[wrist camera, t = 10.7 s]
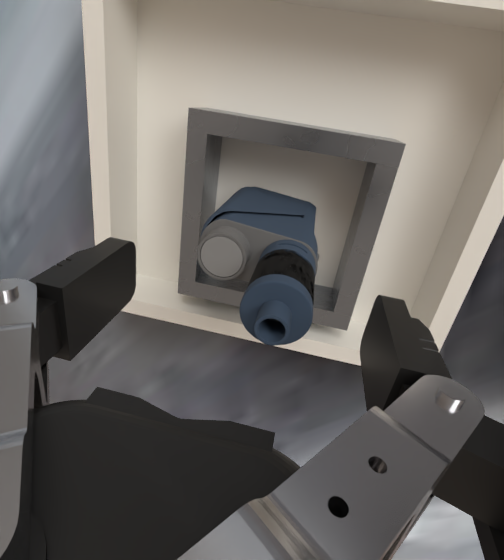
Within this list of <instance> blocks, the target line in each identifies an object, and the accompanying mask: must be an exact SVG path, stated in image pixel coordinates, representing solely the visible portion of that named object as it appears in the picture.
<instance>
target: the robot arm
mask: <svg viewBox="0 0 504 560" xmlns="http://www.w3.org/2000/svg"><path fill="white" fill-rule="evenodd" d="M135 288H136V247H135V244H134V243H133V242H132V241H127V240H122V239H118V238H113V237H109V238H107V239H106V240H104V241H102V242H101V243H99V244H98V245H96V246H94V247H93V248H89V249H86V250H82V251H79V252H76V253H74V254H73V255H71V256H69V257H68V258H66V260H63V261H61V262H59V263H58V264H57V265H56V266H55V265H54V266H53V267H51V268H49V269H47V270H46V271H44V272H42V273H41V274H39V275H37V276H36V277H34V278H32V279H31V280H29V281H28V280H24V279H1V280H0V560H391V559H392V557H393V556H394V554H395V553H396V551H397V550H398V548H399V547H400V545H401V544H402V543H403V541H404V540H405V538H406V537H407V535H408V534H409V532H410V531H411V529H412V528H413V527H414V525H415V524H416V522H417V521H418V519H419V518H420V516H421V515H422V513H423V512H424V511H425V509H426V508H427V506H428V505H429V503H430V502H431V500H432V499H433V497H434V496H436V497H438V498H440V499H442V500H444V501H446V502H447V503H449V504H451V505H453V506H455V507H456V508H458V509H460V510H462V511H464V512H465V513H467V514H469V515H471V516H472V517H473V521H474V524H475V527H476V531H477V534H478V538H479V541H480V545H481V548H482V551H483V555H484V558H485V560H504V424H502V423H499V422H497V421H495V420H493V419H491V418H489V417H487V416H485V415H484V407H483V405H482V403H481V401H480V400H479V399H478V397H477V396H476V395H475V394H474V393H473V392H472V391H470V390H469V389H468V388H466V387H465V386H463V385H462V384H460V383H458V382H456V381H454V380H452V378H451V376H450V374H449V372H448V370H447V367H446V365H445V363H444V361H443V358H442V356H441V354H440V353H439V350H438V347H437V345H436V343H434V342H435V341H434V338H433V336H432V334H431V332H430V330H429V329H428V328H427V327H426V326H425V325H424V324H423V323H422V322H421V321H420V320H419V319H417V318H412V317H411V316H410V314H409V311H408V309H407V306H406V304H405V301H404V300H402V299H397V298H393V297H388V296H383V295H378V296H377V297H376V299H375V302H374V304H373V307H372V310H371V313H370V316H369V319H368V322H367V324H366V327H365V330H364V333H363V336H362V340H361V345H360V360H361V368H362V376H363V384H364V391H365V399H366V407H367V412H366V413H365V414H364V415H362V416H361V417H360V418H359V419H358V420H357V421H355V422H354V423H353V424H352V425H351V426H349V427H348V428H347V429H346V430H345V431H344V432H342V433H341V434H340V435H339V436H338V437H336V438H335V439H334V440H333V441H332V442H331V443H329V444H328V445H327V446H326V447H325V448H323V449H322V450H321V451H320V452H319V453H318V454H316V455H315V456H314V457H313V458H312V459H310V460H309V461H308V462H307V463H306V464H305V465H303V466H302V467H300V466H298V465H297V464H296V463H295V462H294V461H292V460H291V459H290V458H288V457H287V456H285V455H284V454H282V453H281V452H279V451H277V450H276V449H274V448H273V442H274V435H275V433H274V432H270V431H266V430H262V429H258V428H255V427H251V426H247V425H243V424H239V423H235V422H231V421H216V420H192V419H180V418H177V417H175V416H173V415H171V414H169V413H167V412H165V411H163V410H161V409H159V408H158V407H156V406H154V405H152V404H150V403H148V402H146V401H144V400H143V399H141V398H138V397H135V396H131V395H127V394H123V393H119V392H115V391H111V390H107V389H104V388H100V387H97V388H96V389H95V390H94V392H93V393H92V394H91V395H90V396H89V398H88V399H87V400H70V401H63V402H57V403H53V404H50V396H49V367H48V360H49V359H50V358H52V357H57V358H61V359H65V360H69V361H71V360H72V359H73V358H74V357H75V356H76V355H77V354H78V353H79V352H80V351H81V350H82V349H83V348H84V347H85V346H86V345H87V344H88V343H89V342H90V341H91V340H92V339H93V338H94V337H95V336H96V335H97V334H98V333H99V332H100V331H101V330H102V329H103V328H104V327H105V326H106V325H107V324H108V323H109V322H110V321H111V320H112V319H113V318H114V317H115V316H116V315H117V314H118V313H119V312H120V311H121V310H122V309H123V308H124V307H125V306H126V305H127V304H128V303H129V302H130V301H131V299H132V297H133V295H134V292H135Z"/></svg>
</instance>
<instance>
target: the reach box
mask: <svg viewBox="0 0 504 560" xmlns="http://www.w3.org/2000/svg"><path fill="white" fill-rule="evenodd" d="M82 18H83V36H84V54H85V72H86V90H87V109H88V127H89V145H90V163H91V181H92V199H93V217H94V236H95V246H96V245H98V244H99V243H101V242H102V241H104V240H106V239H107V238H109V237H113V238H118V239H122V240H127V241H132V242H133V243H134V244H135V247H136V288H135V292H134V295H133V297H132V299H131V301H130V302H129V303H128V304H127V305H126V306H125V307H124V308H123V309H122V310H121V311H124V312H128V313H133V314H137V315H141V316H146V317H150V318H154V319H159V320H163V321H167V322H172V323H176V324H181V325H185V326H189V327H194V328H198V329H202V330H207V331H211V332H215V333H220V334H224V335H228V336H233V337H237V338H242V339H246V340H250V341H255V342H259V343H262V342H261V341H260V340H258V339H256V338H255V337H253V336H252V335H251V334H250V333H249V332H248V331H247V330H246V329H245V327H244V325H243V323H242V321H241V318H240V312H239V308H240V307H238V306H233V305H229V304H224V303H219V302H215V301H210V300H206V299H201V298H197V297H192V296H188V295H183V294H179V293H178V278H179V261H180V244H181V227H182V210H183V193H184V176H185V159H186V142H187V125H188V108H212V109H218V110H224V111H230V112H236V113H242V114H248V115H254V116H260V117H266V118H272V119H278V120H284V121H290V122H296V123H302V124H308V125H314V126H320V127H326V128H332V129H338V130H344V131H350V132H356V133H362V134H368V135H374V136H380V137H386V138H392V139H396V140H398V141H401V142H403V143H405V144H406V146H405V149H404V152H403V155H402V158H401V162H400V165H399V168H398V171H397V174H396V177H395V180H394V184H393V187H392V190H391V193H390V196H389V199H388V203H387V206H386V209H385V212H384V215H383V218H382V222H381V225H380V228H379V231H378V234H377V237H376V241H375V244H374V247H373V250H372V253H371V256H370V259H369V263H368V266H367V269H366V272H365V275H364V278H363V282H362V285H361V288H360V291H359V294H358V297H357V301H356V304H355V307H354V310H353V313H352V316H351V319H350V323H349V326H348V329H347V331H346V330H342V329H337V328H333V327H328V326H324V325H319V324H315V323H312V324H311V326H310V328H309V330H308V331H307V333H306V334H305V335H304V336H303V337H302V338H301V339H299V340H297V341H295V342H293V343H290V344H285V345H274V346H276V347H281V348H285V349H290V350H294V351H298V352H303V353H307V354H311V355H316V356H320V357H324V358H329V359H333V360H338V361H342V362H346V363H351V364H355V365H359V366H361V360H360V345H361V340H362V336H363V333H364V330H365V327H366V324H367V322H368V319H369V316H370V313H371V310H372V307H373V304H374V302H375V299H376V297H377V296H378V295H383V296H388V297H393V298H397V299H402V300H404V301H405V304H406V306H407V309H408V311H409V314H410V316H411V317H412V318H417V319H419V320H420V321H421V322H422V323H423V324H424V325H425V326H426V327H427V328H428V329H429V330H430V332H431V334H432V336H433V338H434V341H435V342H434V343H436V345H437V347H438V350H439V352H440V350H441V347H442V345H443V343H444V341H445V339H446V337H447V335H448V333H449V330H450V328H451V326H452V324H453V322H454V320H455V318H456V316H457V313H458V311H459V309H460V307H461V305H462V303H463V301H464V299H465V296H466V294H467V292H468V290H469V288H470V286H471V284H472V282H473V279H474V277H475V275H476V273H477V271H478V269H479V267H480V265H481V262H482V260H483V258H484V256H485V254H486V252H487V250H488V248H489V245H490V243H491V241H492V239H493V237H494V235H495V233H496V231H497V228H498V226H499V224H500V222H501V220H502V218H503V216H504V0H82ZM366 166H367V162H366V161H360V160H355V159H349V158H343V157H337V156H332V155H326V154H320V153H314V152H309V151H303V150H297V149H291V148H286V147H280V146H274V145H268V144H263V143H257V142H251V141H245V140H240V139H234V138H228V137H222V146H221V156H220V166H219V176H218V186H217V196H216V206H215V211H216V210H217V209H219V208H220V207H221V206H222V205H223V204H224V203H225V202H226V201H227V200H228V199H229V198H230V197H231V196H232V195H233V194H235V193H236V192H237V191H238V190H240V189H241V188H244V187H259V188H263V189H266V190H270V191H273V192H277V193H280V194H284V195H287V196H290V197H294V198H297V199H301V200H304V201H308V202H310V203H312V204H313V205H314V206H315V207H316V216H315V228H314V234H315V237H316V241H317V246H318V254H319V260H318V267H317V273H316V276H315V284H316V285H321V286H326V287H331V288H333V285H334V281H335V277H336V274H337V270H338V267H339V263H340V259H341V256H342V252H343V249H344V245H345V241H346V238H347V234H348V230H349V227H350V223H351V220H352V216H353V212H354V209H355V205H356V202H357V198H358V194H359V191H360V187H361V184H362V180H363V176H364V173H365V169H366ZM263 344H264V343H263Z"/></svg>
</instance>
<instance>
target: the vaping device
mask: <svg viewBox="0 0 504 560" xmlns="http://www.w3.org/2000/svg"><path fill="white" fill-rule="evenodd" d="M315 216H316V207H315V206H314V205H313V204H312V203H310V202H308V201H304V200H301V199H297V198H294V197H290V196H287V195H284V194H280V193H277V192H273V191H270V190H266V189H263V188H259V187H244V188H241V189H240V190H238V191H237V192H236V193H235V194H233V195H232V196H231V197H230V198H229V199H228V200H227V201H226V202H225V203H224V204H223V205H222V206H221V207H220V208H219V209H217V210H216V211H215V212H214V213H213V214H212V215H211V216H210V217H209V218H208V219H207V221H206V222H205V224H204V226H203V229H202V232H201V235H200V244H199V246H198V250H197V258H198V262H199V264H200V266H201V268H202V269H203V270H204V272H205V273H207V274H208V275H209V276H211V277H213V278H215V279H218V280H230V279H233V278H238V279H241V280H245V281H248V282H249V284H248V286H247V288H246V290H245V293H244V295H243V297H242V300H241V303H240V308H239V312H240V318H241V321H242V323H243V325H244V327H245V329H246V330H247V331H248V332H249V333H250V334H251V335H252V336H253V337H255V338H256V339H258V340H260V341H261V342H262V343H264V344H267V345H272V346H274V345H285V344H290V343H293V342H295V341H297V340H299V339H301V338H302V337H303V336H304V335H305V334H306V333H307V331H308V330H309V328H310V326H311V324H312V320H313V304H314V293H313V292H314V287H315V276H316V273H317V267H318V260H319V254H318V246H317V241H316V237H315V234H314V228H315Z"/></svg>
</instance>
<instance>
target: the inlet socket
mask: <svg viewBox="0 0 504 560" xmlns="http://www.w3.org/2000/svg"><path fill="white" fill-rule="evenodd" d="M222 137H228V138H234V139H240V140H245V141H251V142H257V143H263V144H268V145H274V146H280V147H286V148H291V149H297V150H303V151H309V152H314V153H320V154H326V155H332V156H337V157H343V158H349V159H355V160H360V161H366V162H367V166H366V169H365V173H364V176H363V180H362V184H361V187H360V191H359V194H358V198H357V202H356V205H355V209H354V212H353V216H352V220H351V223H350V227H349V230H348V234H347V238H346V241H345V245H344V249H343V252H342V256H341V259H340V263H339V267H338V270H337V274H336V277H335V281H334V285H333V288H331V287H326V286H321V285H316V284H315V287H314V292H313V293H314V304H313V320H312V323H315V324H319V325H324V326H328V327H333V328H337V329H342V330H346V331H347V329H348V326H349V323H350V319H351V316H352V313H353V310H354V307H355V304H356V301H357V297H358V294H359V291H360V288H361V285H362V282H363V278H364V275H365V272H366V269H367V266H368V263H369V259H370V256H371V253H372V250H373V247H374V244H375V241H376V237H377V234H378V231H379V228H380V225H381V222H382V218H383V215H384V212H385V209H386V206H387V203H388V199H389V196H390V193H391V190H392V187H393V184H394V180H395V177H396V174H397V171H398V168H399V165H400V162H401V158H402V155H403V152H404V149H405V146H406V144H405V143H403V142H401V141H398V140H396V139H392V138H386V137H380V136H374V135H368V134H362V133H356V132H350V131H344V130H338V129H332V128H326V127H320V126H314V125H308V124H302V123H296V122H290V121H284V120H278V119H272V118H266V117H260V116H254V115H248V114H242V113H236V112H230V111H224V110H218V109H212V108H188V125H187V142H186V159H185V176H184V193H183V210H182V227H181V244H180V261H179V278H178V293H179V294H183V295H188V296H192V297H197V298H201V299H206V300H210V301H215V302H219V303H224V304H229V305H233V306H238V307H240V303H241V300H242V297H243V295H244V293H245V290H246V288H247V286H248V284H249V282H248V281H245V280H241V279H238V278H233V279H230V280H218V279H215V278H213V277H211V276H209V275H208V274H207V273H205V272H204V270H203V269H202V268H201V266H200V264H199V262H198V258H197V250H198V246H199V244H200V235H201V232H202V229H203V226H204V224H205V222H206V221H207V219H208V218H209V217H210V216H211V215H212V214H213V213H214V212H215V206H216V196H217V186H218V176H219V166H220V156H221V146H222Z"/></svg>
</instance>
